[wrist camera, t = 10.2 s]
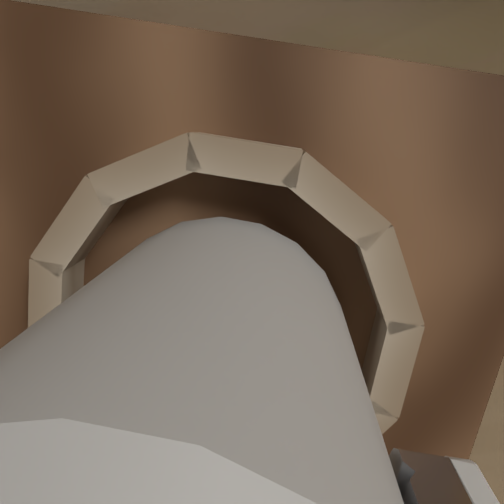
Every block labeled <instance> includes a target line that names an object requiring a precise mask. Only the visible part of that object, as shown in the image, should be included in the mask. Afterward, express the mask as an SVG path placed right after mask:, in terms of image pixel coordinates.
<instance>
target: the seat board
mask: <svg viewBox="0 0 504 504" xmlns="http://www.w3.org/2000/svg"><path fill="white" fill-rule="evenodd" d="M214 217H226V218H232V219H237V220H243V221H248V222H254V223H259V224H262V225H264V226H266V227H268V228H270V229H272V230H274V231H276V232H277V233H279V234H281V235H283V236H285V237H287V238H289V239H291V240H292V241H294V242H296V243H298V244H299V245H300V246H301V248H302V249H303V250H304V251H305V252H306V253H307V254H308V255H309V256H310V257H311V258H312V259H313V260H314V261H315V262H316V263H317V264H318V265H319V266H320V267H321V268H322V269H323V270H324V271H325V273H326V275H327V278H328V280H329V282H330V284H331V286H332V288H333V290H334V292H335V295H336V297H337V299H338V301H339V303H340V305H341V308H342V311H343V314H344V317H345V320H346V324H347V327H348V330H349V333H350V336H351V339H352V342H353V346H354V349H355V352H356V355H357V358H358V361H359V364H360V367H361V371H362V374H363V377H364V380H365V383H366V386H367V389H368V393H369V396H370V399H371V402H372V405H373V408H374V411H375V414H376V418H377V421H378V424H379V427H380V430H381V433H382V436H383V440H384V443H385V446H386V449H387V452H388V455H389V454H390V453H391V451H392V449H393V448H397V449H403V450H409V451H415V452H420V453H426V454H432V455H438V456H449V457H456V458H462V459H469V457H470V454H471V451H472V448H473V445H474V442H475V439H476V436H477V433H478V430H479V427H480V424H481V421H482V418H483V415H484V412H485V409H486V406H487V403H488V400H489V398H490V395H491V392H492V389H493V386H494V383H495V380H496V377H497V374H498V371H499V368H500V365H501V362H502V359H503V356H504V76H503V75H496V74H490V73H483V72H477V71H470V70H463V69H457V68H450V67H444V66H437V65H431V64H424V63H417V62H411V61H404V60H398V59H391V58H385V57H378V56H372V55H365V54H358V53H352V52H345V51H339V50H332V49H326V48H319V47H313V46H306V45H299V44H293V43H286V42H280V41H273V40H267V39H260V38H253V37H247V36H240V35H234V34H227V33H221V32H214V31H208V30H201V29H194V28H188V27H181V26H175V25H168V24H162V23H155V22H148V21H142V20H135V19H129V18H122V17H116V16H109V15H103V14H96V13H89V12H83V11H76V10H70V9H63V8H57V7H50V6H44V5H37V4H30V3H24V2H17V1H11V0H0V349H1V348H2V347H4V346H5V345H6V344H8V343H9V342H10V341H12V340H13V339H14V338H16V337H17V336H18V335H20V334H21V333H22V332H23V331H25V330H26V329H27V328H29V327H30V326H31V325H33V324H34V323H35V322H37V321H38V320H39V319H41V318H42V317H43V316H45V315H46V314H47V313H49V312H50V311H51V310H53V309H54V308H55V307H57V306H58V305H59V304H61V303H62V302H63V301H65V300H66V299H67V298H69V297H70V296H71V295H73V294H74V293H75V292H77V291H78V290H79V289H81V288H82V287H83V286H85V285H86V284H87V283H89V282H90V281H91V280H93V279H94V278H95V277H97V276H98V275H99V274H101V273H102V272H103V271H105V270H106V269H107V268H109V267H110V266H111V265H113V264H114V263H115V262H117V261H118V260H119V259H121V258H122V257H123V256H125V255H126V254H127V253H129V252H130V251H131V250H133V249H134V248H135V247H137V246H138V245H139V244H141V243H142V242H143V241H145V240H146V239H147V238H149V237H151V236H154V235H156V234H158V233H160V232H162V231H164V230H166V229H168V228H170V227H172V226H174V225H176V224H178V223H180V222H184V221H191V220H199V219H206V218H214Z"/></svg>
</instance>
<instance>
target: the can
mask: <svg viewBox="0 0 504 504" xmlns="http://www.w3.org/2000/svg"><path fill="white" fill-rule="evenodd" d="M0 504H404V502H403V499H402V496H401V493H400V490H399V487H398V483H397V480H396V477H395V474H394V471H393V468H392V465H391V461H390V458H389V455H388V452H387V449H386V446H385V443H384V440H383V436H382V433H381V430H380V427H379V424H378V421H377V418H376V414H375V411H374V408H373V405H372V402H371V399H370V396H369V393H368V389H367V386H366V383H365V380H364V377H363V374H362V371H361V367H360V364H359V361H358V358H357V355H356V352H355V349H354V346H353V342H352V339H351V336H350V333H349V330H348V327H347V324H346V320H345V317H344V314H343V311H342V308H341V305H340V303H339V301H338V299H337V297H336V295H335V292H334V290H333V288H332V286H331V284H330V282H329V280H328V278H327V275H326V273H325V271H324V270H323V269H322V268H321V267H320V266H319V265H318V264H317V263H316V262H315V261H314V260H313V259H312V258H311V257H310V256H309V255H308V254H307V253H306V252H305V251H304V250H303V249H302V248H301V246H300V245H299V244H298V243H296V242H294V241H292V240H291V239H289V238H287V237H285V236H283V235H281V234H279V233H277V232H276V231H274V230H272V229H270V228H268V227H266V226H264V225H262V224H259V223H254V222H248V221H243V220H237V219H232V218H226V217H214V218H206V219H199V220H191V221H184V222H180V223H178V224H176V225H174V226H172V227H170V228H168V229H166V230H164V231H162V232H160V233H158V234H156V235H154V236H151V237H149V238H147V239H146V240H145V241H143V242H142V243H141V244H139V245H138V246H137V247H135V248H134V249H133V250H131V251H130V252H129V253H127V254H126V255H125V256H123V257H122V258H121V259H119V260H118V261H117V262H115V263H114V264H113V265H111V266H110V267H109V268H107V269H106V270H105V271H103V272H102V273H101V274H99V275H98V276H97V277H95V278H94V279H93V280H91V281H90V282H89V283H87V284H86V285H85V286H83V287H82V288H81V289H79V290H78V291H77V292H75V293H74V294H73V295H71V296H70V297H69V298H67V299H66V300H65V301H63V302H62V303H61V304H59V305H58V306H57V307H55V308H54V309H53V310H51V311H50V312H49V313H47V314H46V315H45V316H43V317H42V318H41V319H39V320H38V321H37V322H35V323H34V324H33V325H31V326H30V327H29V328H27V329H26V330H25V331H23V332H22V333H21V334H20V335H18V336H17V337H16V338H14V339H13V340H12V341H10V342H9V343H8V344H6V345H5V346H4V347H2V348H1V349H0Z"/></svg>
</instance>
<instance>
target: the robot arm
mask: <svg viewBox="0 0 504 504" xmlns="http://www.w3.org/2000/svg"><path fill="white" fill-rule="evenodd" d="M389 458H390V461H391V465H392V468H393V471H394V474H395V477H396V480H397V483H398V487H399V490H400V493H401V496H402V499H403V502H404V504H500V503H499V502H498V500H497V498H496V496H495V495H494V493H493V491H492V490H491V488H490V486H489V485H488V483H487V481H486V479H485V478H484V476H483V474H482V473H481V471H480V469H479V467H478V466H477V464H476V463H474V462H473V461H472V460H469V459H462V458H456V457H449V456H438V455H432V454H426V453H420V452H415V451H409V450H403V449H397V448H393V449H392V451H391V453H390V454H389Z"/></svg>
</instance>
